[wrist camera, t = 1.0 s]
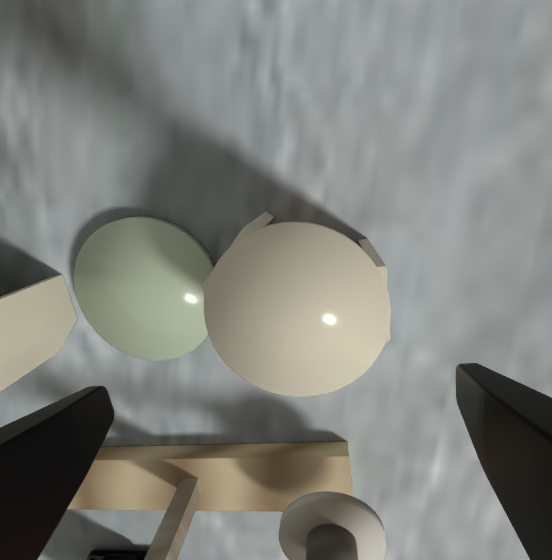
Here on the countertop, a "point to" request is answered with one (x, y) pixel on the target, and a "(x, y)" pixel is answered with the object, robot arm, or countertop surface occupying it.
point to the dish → (144, 287)
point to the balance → (241, 493)
